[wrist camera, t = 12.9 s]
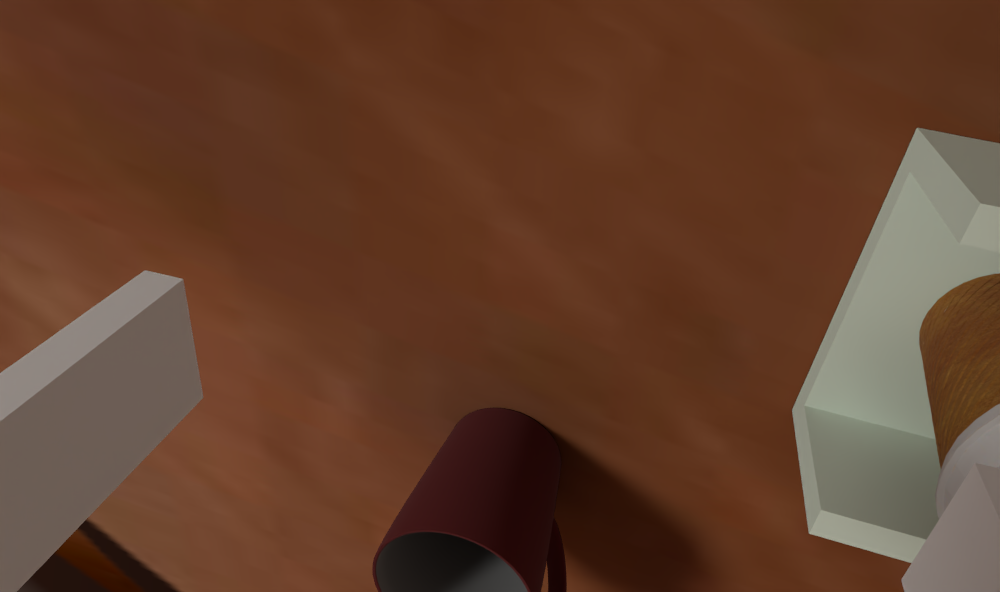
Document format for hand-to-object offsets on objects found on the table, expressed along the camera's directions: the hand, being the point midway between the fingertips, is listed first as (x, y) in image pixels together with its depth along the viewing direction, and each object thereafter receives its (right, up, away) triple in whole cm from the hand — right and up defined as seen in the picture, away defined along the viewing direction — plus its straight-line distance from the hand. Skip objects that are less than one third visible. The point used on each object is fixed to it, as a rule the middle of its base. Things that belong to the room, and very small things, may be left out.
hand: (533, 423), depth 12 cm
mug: (+1, -9, +35) cm, 36 cm away
